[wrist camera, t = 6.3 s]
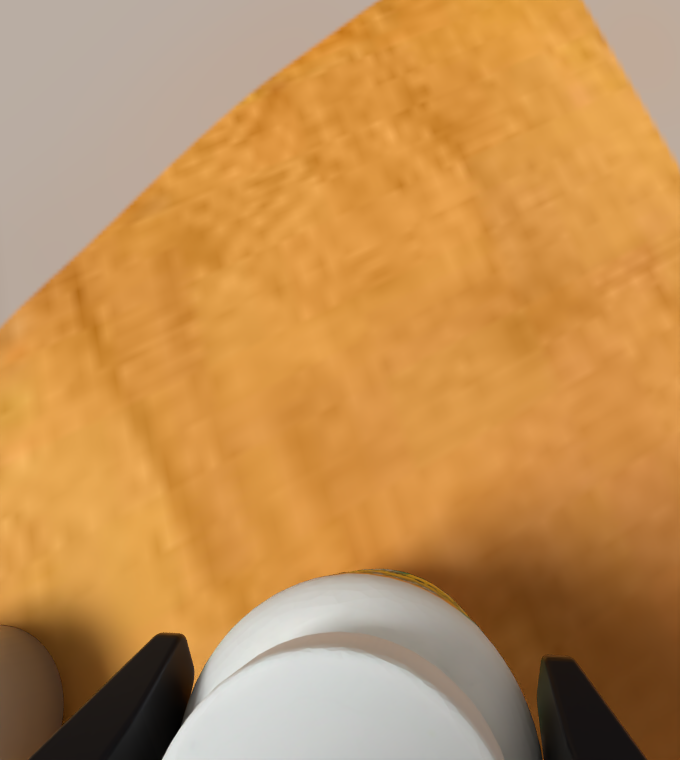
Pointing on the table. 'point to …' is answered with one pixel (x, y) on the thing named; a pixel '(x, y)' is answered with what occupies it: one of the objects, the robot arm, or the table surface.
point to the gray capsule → (27, 694)
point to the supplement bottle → (356, 680)
